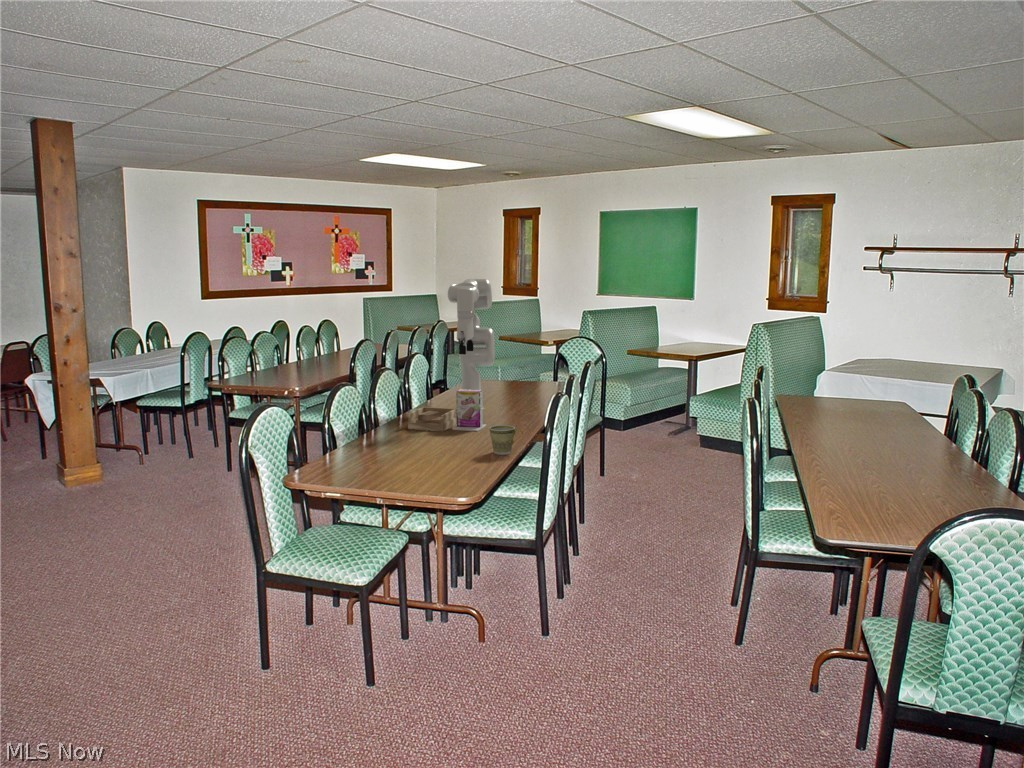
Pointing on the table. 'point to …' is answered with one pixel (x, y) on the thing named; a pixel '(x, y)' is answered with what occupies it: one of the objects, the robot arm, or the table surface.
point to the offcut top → (428, 415)
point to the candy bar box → (469, 408)
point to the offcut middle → (430, 421)
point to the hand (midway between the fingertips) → (466, 352)
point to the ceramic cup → (503, 438)
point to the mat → (469, 428)
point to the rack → (447, 421)
